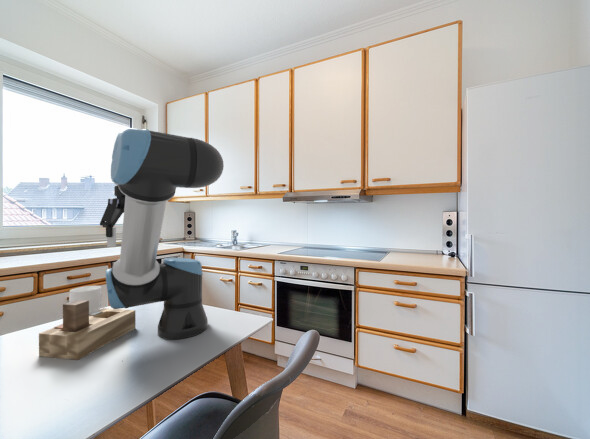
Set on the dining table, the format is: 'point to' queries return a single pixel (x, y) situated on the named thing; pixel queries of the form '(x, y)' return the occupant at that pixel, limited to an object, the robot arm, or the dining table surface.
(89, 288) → the cup
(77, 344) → the box
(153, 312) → the dining table surface
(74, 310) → the plug
